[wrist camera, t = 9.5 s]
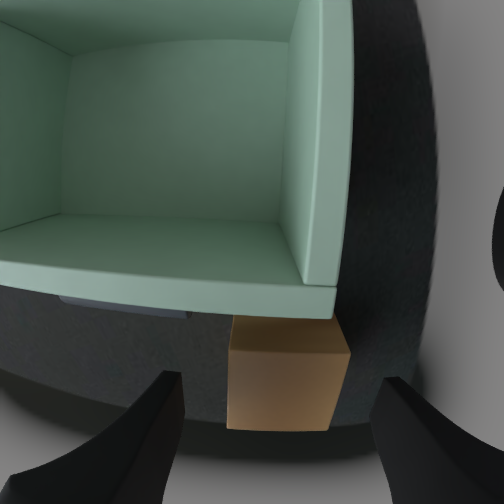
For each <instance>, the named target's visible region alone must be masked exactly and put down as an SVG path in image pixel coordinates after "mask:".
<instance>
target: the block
mask: <svg viewBox="0 0 504 504" xmlns="http://www.w3.org/2000/svg"><path fill="white" fill-rule="evenodd" d="M350 356H351V352H350V350H349V347H348V345H347V343H346V340H345V338H344V335H343V333H342V330H341V328H340V326H339V323H338V321H337V318H336V316H335V314H334V311H333V316H332V318H331V319H311V318H285V317H265V316H248V315H234V316H233V323H232V330H231V337H230V344H229V353H228V397H227V428H228V429H243V430H264V431H320V430H328V427H329V425H330V422H331V419H332V416H333V413H334V410H335V407H336V403H337V400H338V397H339V394H340V391H341V387H342V384H343V381H344V377H345V374H346V370H347V367H348V363H349V360H350Z"/></svg>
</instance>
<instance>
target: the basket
mask: <svg viewBox="0 0 504 504" xmlns="http://www.w3.org/2000/svg"><path fill="white" fill-rule="evenodd" d="M353 105H354V33H353V9H352V0H0V285H5V286H10V287H16V288H21V289H27V290H32V291H38V292H44V293H50V294H56V295H59V297H60V299H61V300H62V301H63V302H64V303H67V304H73V305H80V306H86V307H93V308H99V309H107V310H114V311H121V312H129V313H137V314H145V315H154V316H163V317H173V318H183V319H188V318H190V317H191V315H192V312H193V311H195V312H207V313H219V314H233V315H248V316H265V317H285V318H311V319H331V318H332V316H333V311H334V305H335V299H336V292H337V288H336V286H335V285H337V282H338V277H339V270H340V262H341V255H342V247H343V239H344V230H345V221H346V212H347V202H348V191H349V179H350V165H351V150H352V132H353Z"/></svg>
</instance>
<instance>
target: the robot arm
mask: <svg viewBox="0 0 504 504" xmlns="http://www.w3.org/2000/svg"><path fill="white" fill-rule="evenodd" d="M184 415H185V407H184V397H183V387H182V377H181V372H173V371H165V370H164V371H163V372H161V373H160V375H159V376H158V377H157V378H156V379H155V380H154V382H153V383H152V384H151V385H150V386H149V387H148V388H147V389H146V391H145V392H144V393H143V394H142V395H141V396H140V397H139V398H138V399H137V400H136V401H135V402H134V403H133V404H132V405H131V406H130V407H129V408H128V409H127V410H126V411H125V412H124V413H123V414H122V415H121V416H119V417H118V418H117V419H116V420H115V421H114V422H113V423H111V424H110V425H109V426H108V427H107V428H105V429H104V430H103V431H101V432H100V433H99V434H97V435H96V436H95V437H93V438H92V439H91V440H89V441H87V442H86V443H84V444H82V445H81V446H79V447H78V448H76V449H75V450H73V451H71V452H69V453H67V454H65V455H63V456H61V457H59V458H57V459H55V460H53V461H51V462H49V463H46V464H44V465H41V466H39V467H36V468H33V469H30V470H27V471H24V472H21V473H17V474H13V475H11V476H10V477H9V479H8V480H7V482H6V483H5V485H4V487H3V489H2V491H1V493H0V504H162V501H163V495H164V490H165V486H166V483H167V480H168V476H169V473H170V469H171V467H172V463H173V460H174V457H175V454H176V450H177V447H178V444H179V440H180V437H181V432H182V427H183V421H184ZM369 417H370V423H371V428H372V433H373V438H374V441H375V444H376V447H377V450H378V453H379V456H380V459H381V462H382V465H383V468H384V471H385V474H386V477H387V480H388V483H389V487H390V491H391V496H392V502H393V504H504V451H502V450H499V449H497V448H495V447H493V446H491V445H489V444H486V443H485V442H483V441H481V440H479V439H477V438H476V437H474V436H472V435H471V434H469V433H467V432H466V431H464V430H463V429H461V428H460V427H459V426H457V425H456V424H454V423H453V422H452V421H450V420H449V419H448V418H446V417H445V416H444V415H443V414H442V413H440V412H439V411H438V410H437V409H436V408H434V407H433V406H432V405H431V404H430V403H428V402H427V401H426V400H425V399H424V398H423V397H422V396H420V394H418V393H417V392H416V391H415V390H414V389H413V388H412V387H411V386H409V385H408V384H407V383H406V382H405V381H404V380H402V379H401V378H400V377H386V378H384V380H383V382H382V385H381V388H380V390H379V393H378V395H377V398H376V400H375V403H374V405H373V408H372V410H371V412H370V415H369Z"/></svg>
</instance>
